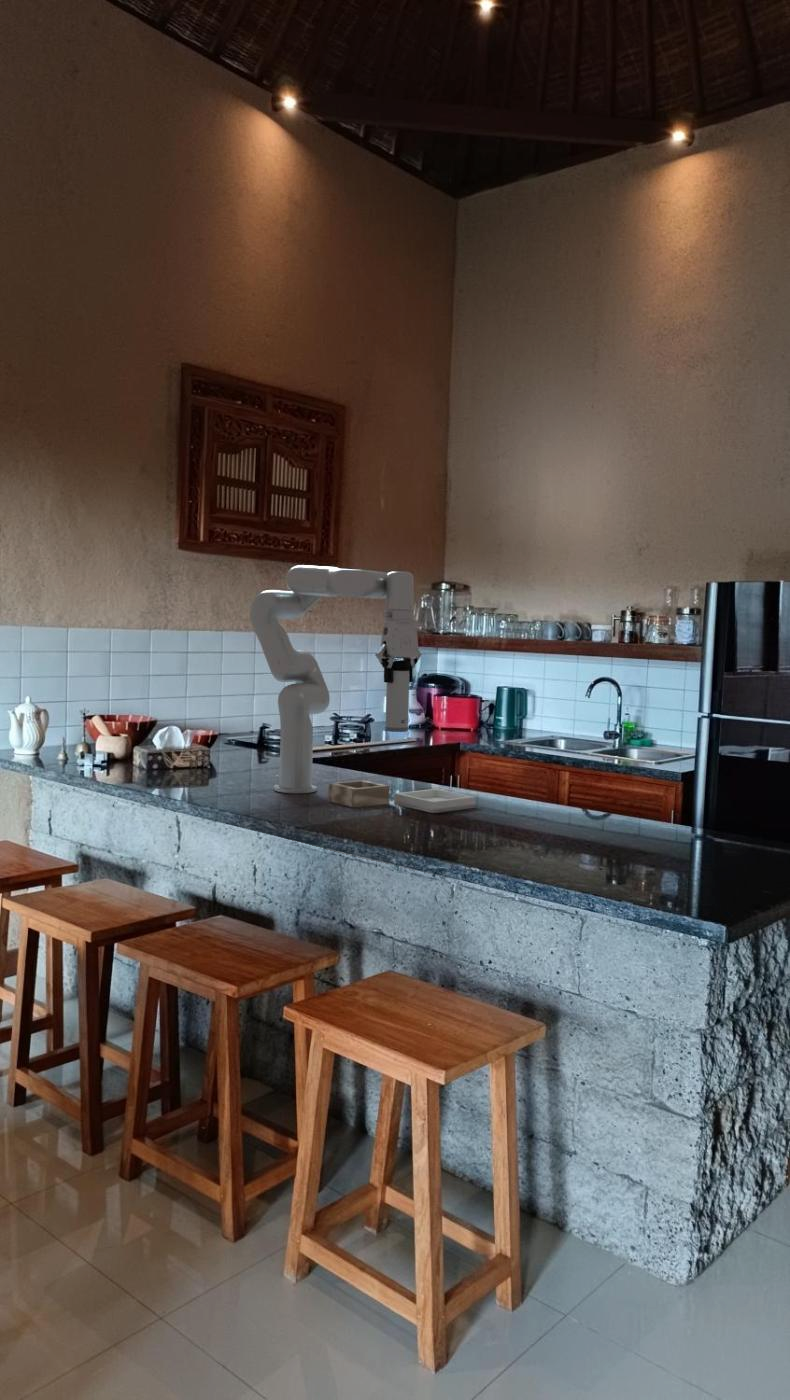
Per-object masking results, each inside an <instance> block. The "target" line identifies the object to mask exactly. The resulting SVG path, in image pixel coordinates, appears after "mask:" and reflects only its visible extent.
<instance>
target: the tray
mask: <svg viewBox="0 0 790 1400" xmlns="http://www.w3.org/2000/svg"><path fill="white" fill-rule="evenodd" d="M476 799H477V797H476V796H473V795H468V794H464V793H463V794H462V793H459V792H454V791H449V790H444V789H441V788H430V789H423V790H414V791H412V790H411V791H402V792H395V793H394V796H393V805H397V806H401V807H405V808H408V809H413V810H416V811H417V810H418V811H423V812H427V813H431V814H436V813H437V814H439V813H444V812H454V811H462V810H469V809H475V808H476V801H477V800H476Z"/></svg>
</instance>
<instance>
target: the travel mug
mask: <svg viewBox="0 0 790 1400" xmlns="http://www.w3.org/2000/svg"><path fill="white" fill-rule="evenodd" d="M409 661H410V662H411V659H407V660H403V659H402V660H394V661H393V664H392V667H391V668H393V682H392V683H386V685H385V686H386V688H385V689H386V692H385V693H386V695H385V696H386V698H385V731H386V732H390V733H391V732H392V733H405V732H408V731H409V713H410V712H409V711H410V709H409V704H410V702H409V700H410V682H409V672H410V671H409Z"/></svg>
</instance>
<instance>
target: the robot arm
mask: <svg viewBox="0 0 790 1400" xmlns="http://www.w3.org/2000/svg"><path fill="white" fill-rule="evenodd" d="M414 582H415V580H414V575H413V573H411V572H409V571H390V572H383V571H377V570H364V569H350V568H349V569H348V568H339V567H338V566H337V567H335V566H319V565H304V564H302V565H301V564H300V565H295V566H292V567H291V568H290V569H289V570H288V571H287V573H286V574H285V584H286V586H287V588H288V589H289V590H279V589H268V590H263V591H262V592H259V593H258V594H256V596H255V597H254V598H253V600H252V602H251V605H250V611H249V619H250V624H251V625H252V629H253V631H254V633H255V636H257V640H258V642H259V643H260V646H261V649H262V652H263V655H264V658H265V659H266V662H267V665H268V667H269V670H270V673H271V674H272V676H273V678H274V679H275V680H276V681H278V682H280V683H281V682H282V683H290V684H288V685H285V686H284V687H283V688H282V689H281V690H280V692H279V694H278V697H277V705H278V713H279V723H280V736H279V738H280V742H279V744H280V745H279V746H280V747H279V750H280V751H279V773H278V774H277V775H275V777H274V779H275V780H276V781H278V782H277V783H278V784H275V785H274V786H273V790H274V792H278V793H284V794H310V793H315V792H317V790H318V787H317V786H316V785H314V784H312V783H313V782H312V781H313V753H314V752H313V750H314V749H313V748H314V745H313V743H314V730H313V728H314V727H313V724H312V720H311V717H310V716H312V715H318V714H321V713H324V712H325V711H326V710H327V709H328V707H329V706H330V700H331V699H330V692H329V688H328V686H327V684H326V681H325V678H324V676H323V674H322V671H321V668H320V667H319V663H318V661H317V659H316V658H315V657H314V655H312V653H310V652H309V651H307V650H303V649H294V647H293V645H292V643H291V640H290V638H289V635H288V633H287V632H286V630H285V628H284V627H283V625H281V623H280V622H279V620H290V621H291V620H296V619H299V618H301V617H302V616H303V615H304V614H306V613H307V612H308V610H310V609H311V608H312V606H314V605H315V604H316V603H317V602H318V601H319V600H320V599H321V598H322V597H329V598H331V597H332V598H337V597H351V598H361V599H363V598H364V599H374V600H375V599H377V600H384V599H385V611H384V613H383V618H385V621H383V627H382V633H381V642H380V647H379V649H378V650H377V651H376V652H375V655H374V656H375V657H376V659H377V660H378V661H379V663H380V665H381V667H382V668H383V683H386V684H387V683H392V682H393V668H391V667H392V664H393V661H395V659H402V660H407V659H411V662H410V661H409V671H410V672H409V683H413V679H414V677H413V675H414V669H415V666H416V664H417V663H418V661H419V660H420V658H422V652H421V651H420V650H419V643H418V642H419V641H418V640H419V638H418V629H417V625H416V622H414V591H415V589H414V587H415V586H414V584H415V583H414ZM293 682H294V683H293Z"/></svg>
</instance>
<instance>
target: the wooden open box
mask: <svg viewBox="0 0 790 1400" xmlns="http://www.w3.org/2000/svg"><path fill="white" fill-rule="evenodd" d="M328 802H330V803H335V804H339V805H343V806H347V807H352V808H354V807H357V808H362V807H363V806H365V807H371V806H372V807H373V806H380V805H381V806H382V805H389V804H390V785H387V784H384V783H383V784H382V783H377V782H373V781H368V780H363V779H359V780H349V781H338V782H337V781H336V782H328ZM363 808H364V807H363Z"/></svg>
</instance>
